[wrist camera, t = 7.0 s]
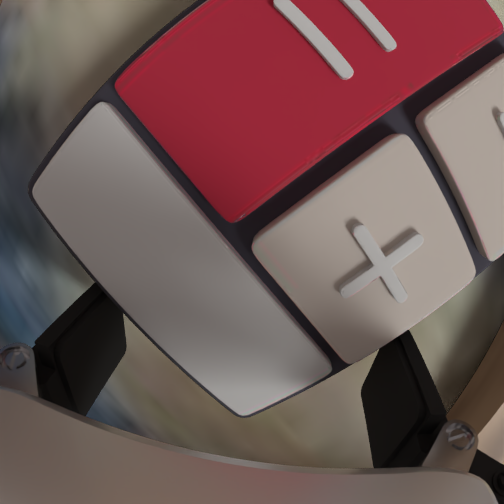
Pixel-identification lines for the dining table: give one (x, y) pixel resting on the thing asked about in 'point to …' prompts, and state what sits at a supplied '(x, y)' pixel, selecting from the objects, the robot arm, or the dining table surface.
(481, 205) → the calculator
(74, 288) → the dining table surface
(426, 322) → the dining table surface
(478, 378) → the brown wooden plank
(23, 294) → the dining table surface
